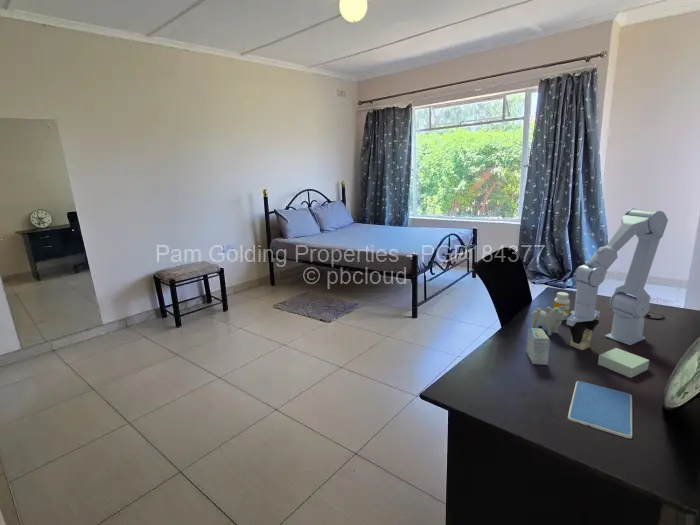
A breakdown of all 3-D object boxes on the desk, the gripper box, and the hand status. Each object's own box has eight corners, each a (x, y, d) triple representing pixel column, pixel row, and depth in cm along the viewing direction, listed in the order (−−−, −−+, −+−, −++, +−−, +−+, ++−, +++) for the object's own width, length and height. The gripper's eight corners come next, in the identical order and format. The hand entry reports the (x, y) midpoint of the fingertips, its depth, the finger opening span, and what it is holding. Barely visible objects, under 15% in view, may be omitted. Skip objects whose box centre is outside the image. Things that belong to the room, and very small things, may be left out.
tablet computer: (631, 442, 83) (632, 436, 82) (566, 421, 90) (567, 416, 90) (631, 398, 98) (632, 393, 98) (575, 383, 105) (576, 379, 105)
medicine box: (547, 365, 114) (550, 339, 112) (531, 364, 115) (534, 338, 113) (540, 353, 121) (543, 328, 119) (525, 352, 122) (527, 327, 120)
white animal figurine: (560, 340, 130) (563, 311, 127) (527, 327, 141) (530, 300, 138) (569, 336, 132) (573, 308, 129) (537, 324, 143) (539, 297, 141)
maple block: (577, 342, 127) (579, 326, 126) (589, 347, 124) (591, 330, 122) (570, 345, 125) (572, 328, 124) (582, 350, 122) (584, 333, 121)
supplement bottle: (550, 314, 152) (552, 291, 150) (564, 314, 151) (567, 291, 149) (555, 319, 147) (558, 295, 144) (570, 319, 146) (573, 295, 144)
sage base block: (614, 356, 118) (616, 347, 117) (647, 369, 110) (649, 360, 109) (597, 364, 114) (599, 355, 113) (630, 377, 106) (632, 368, 105)
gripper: (586, 294, 128) (581, 331, 131) (559, 302, 121) (555, 341, 124) (608, 300, 121) (603, 339, 125) (581, 309, 115) (576, 350, 118)
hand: (580, 341), depth 124 cm, fingers closed on maple block, 4 cm apart
